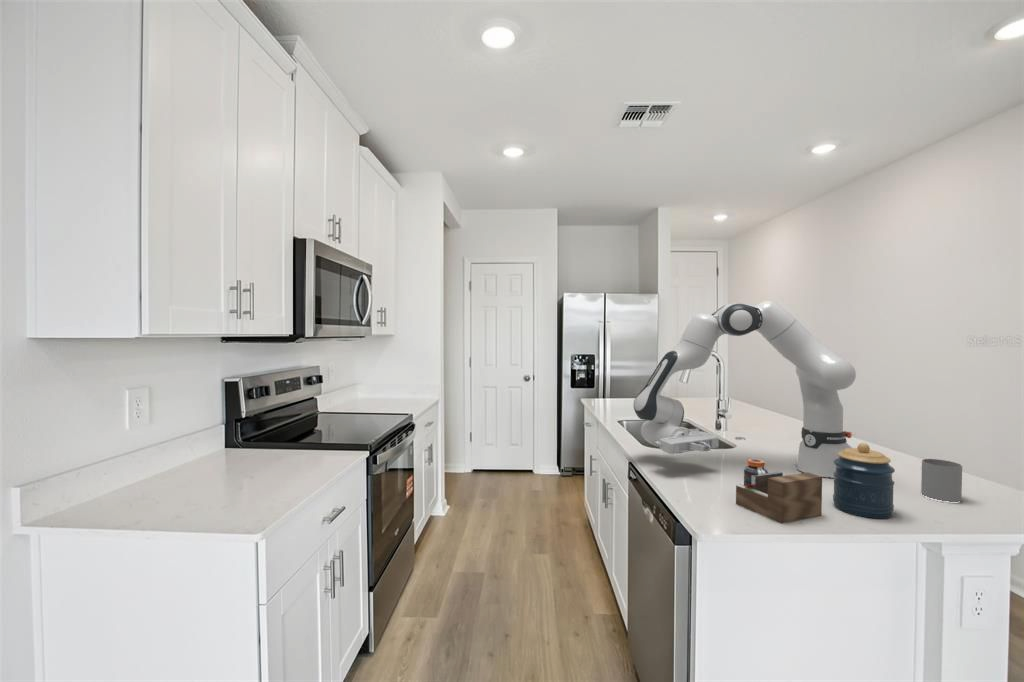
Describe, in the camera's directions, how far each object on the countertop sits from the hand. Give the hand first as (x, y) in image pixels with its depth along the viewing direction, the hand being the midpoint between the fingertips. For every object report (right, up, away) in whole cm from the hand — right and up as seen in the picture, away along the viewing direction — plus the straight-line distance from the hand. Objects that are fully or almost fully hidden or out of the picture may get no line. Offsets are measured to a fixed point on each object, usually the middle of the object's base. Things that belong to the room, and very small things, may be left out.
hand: (706, 448), depth 149 cm
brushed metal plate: (+6, -10, -22) cm, 25 cm away
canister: (+31, -11, -24) cm, 41 cm away
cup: (+60, -11, -15) cm, 63 cm away
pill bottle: (+6, -11, -18) cm, 22 cm away
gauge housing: (+8, -11, -23) cm, 27 cm away
